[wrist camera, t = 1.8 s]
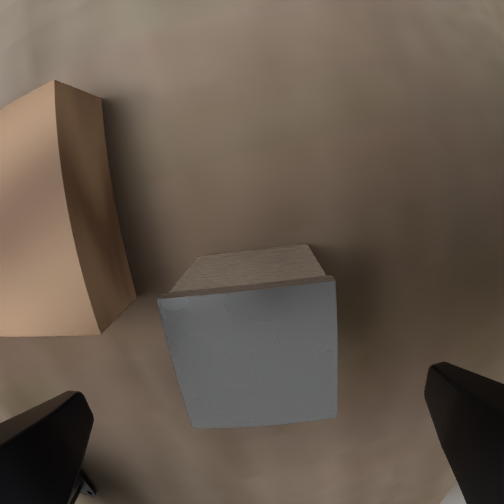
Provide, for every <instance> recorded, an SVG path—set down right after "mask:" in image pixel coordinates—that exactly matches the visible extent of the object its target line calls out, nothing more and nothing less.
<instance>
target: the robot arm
mask: <svg viewBox="0 0 504 504" xmlns="http://www.w3.org/2000/svg"><path fill="white" fill-rule="evenodd" d="M424 395H425V400H426V403H427V406H428V409H429V411H430V414H431V417H432V420H433V423H434V426H435V429H436V432H437V435H438V438H439V441H440V443H441V446H442V448H443V451H444V453H445V455H446V457H447V459H448V462H449V464H450V466H451V468H452V470H453V473H454V475H455V477H456V480H457V482H458V484H459V486H460V489H461V491H462V494H463V496H464V498H465V501H466V503H467V504H504V384H502V383H500V382H497V381H494V380H492V379H489V378H486V377H484V376H481V375H478V374H476V373H473V372H471V371H468V370H465V369H463V368H460V367H458V366H455V365H452V364H450V363H447V362H440V363H436V364H433V365H431V366H430V367H429V370H428V375H427V380H426V386H425V391H424ZM93 422H94V418H93V414H92V411H91V409H90V407H89V405H88V403H87V401H86V399H85V397H84V395H83V394H82V393H81V392H78V391H67V392H65V393H63V394H61V395H58V396H56V397H54V398H52V399H50V400H48V401H46V402H44V403H42V404H40V405H38V406H36V407H34V408H32V409H30V410H27V411H25V412H23V413H21V414H19V415H17V416H15V417H13V418H11V419H8V420H6V421H4V422H2V423H0V504H74V503H75V501H76V499H77V497H78V495H79V494H80V493H82V494H86V495H90V496H95V495H96V493H97V491H96V490H95V488H94V487H93V486H92V484H91V483H90V482H89V480H88V479H87V477H86V476H85V475H84V473H83V472H82V470H81V466H82V462H83V459H84V455H85V451H86V448H87V444H88V440H89V437H90V433H91V429H92V426H93Z"/></svg>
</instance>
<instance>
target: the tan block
mask: <svg viewBox="0 0 504 504" xmlns="http://www.w3.org/2000/svg"><path fill="white" fill-rule="evenodd" d="M136 298H137V296H136V292H135V288H134V285H133V281H132V277H131V273H130V269H129V265H128V261H127V256H126V252H125V248H124V243H123V238H122V234H121V229H120V224H119V219H118V214H117V209H116V204H115V198H114V192H113V187H112V181H111V174H110V168H109V161H108V154H107V147H106V139H105V130H104V121H103V111H102V100H101V98H99V97H96V96H94V95H91V94H89V93H87V92H84V91H82V90H79V89H77V88H74V87H72V86H69V85H67V84H64V83H61V82H59V81H56V80H53V81H51V82H49V83H47V84H45V85H43V86H41V87H39V88H37V89H35V90H33V91H31V92H30V93H28V94H26V95H24V96H22V97H21V98H19V99H17V100H15V101H14V102H12V103H10V104H9V105H7V106H5V107H4V108H2V109H0V336H75V335H100V334H102V333H103V332H104V331H105V330H106V329H107V328H108V327H109V325H110V324H111V323H112V322H113V321H114V320H115V319H116V318H117V317H118V316H119V315H120V314H121V313H122V312H123V311H124V310H125V309H126V308H127V307H128V306H129V305H130V304H131V303H132V302H133V301H134V300H135V299H136Z"/></svg>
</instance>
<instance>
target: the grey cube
mask: <svg viewBox="0 0 504 504" xmlns="http://www.w3.org/2000/svg"><path fill="white" fill-rule="evenodd" d="M157 303H158V308H159V312H160V316H161V320H162V324H163V328H164V332H165V336H166V340H167V344H168V348H169V351H170V355H171V359H172V362H173V366H174V369H175V373H176V376H177V380H178V383H179V386H180V390H181V393H182V396H183V400H184V403H185V406H186V409H187V412H188V415H189V418H190V421H191V424H192V427H193V428H235V427H255V426H269V425H281V424H291V423H300V422H308V421H316V420H323V419H330V418H336V417H337V393H338V338H337V302H336V281H335V279H334V278H333V276H332V275H326V274H325V273H324V271H323V269H322V268H321V266H320V264H319V263H318V261H317V259H316V258H315V256H314V254H313V253H312V251H311V250H310V248H309V246H308V245H307V244H300V245H291V246H283V247H274V248H265V249H257V250H248V251H239V252H231V253H222V254H213V255H205V256H198V257H197V259H196V260H195V261H194V262H193V263H192V265H191V266H190V267H189V268H188V270H187V271H186V272H185V273H184V274H183V276H182V277H181V278H180V279H179V281H178V282H177V283H176V284H175V286H174V287H173V288H172V289H171V290H170V292H165V293H161V295H160V296H159V297H158V298H157Z"/></svg>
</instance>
